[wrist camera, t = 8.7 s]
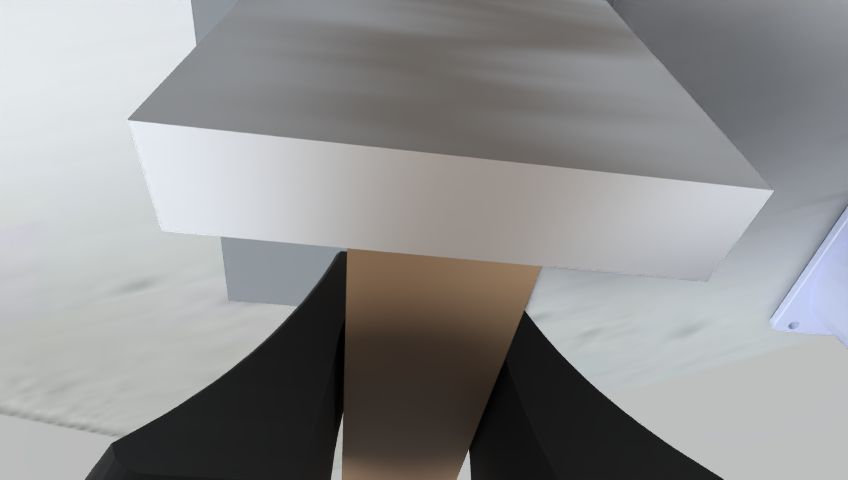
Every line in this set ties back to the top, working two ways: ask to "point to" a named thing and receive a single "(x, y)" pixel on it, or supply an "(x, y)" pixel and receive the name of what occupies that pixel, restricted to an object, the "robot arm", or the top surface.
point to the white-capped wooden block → (441, 182)
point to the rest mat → (257, 259)
